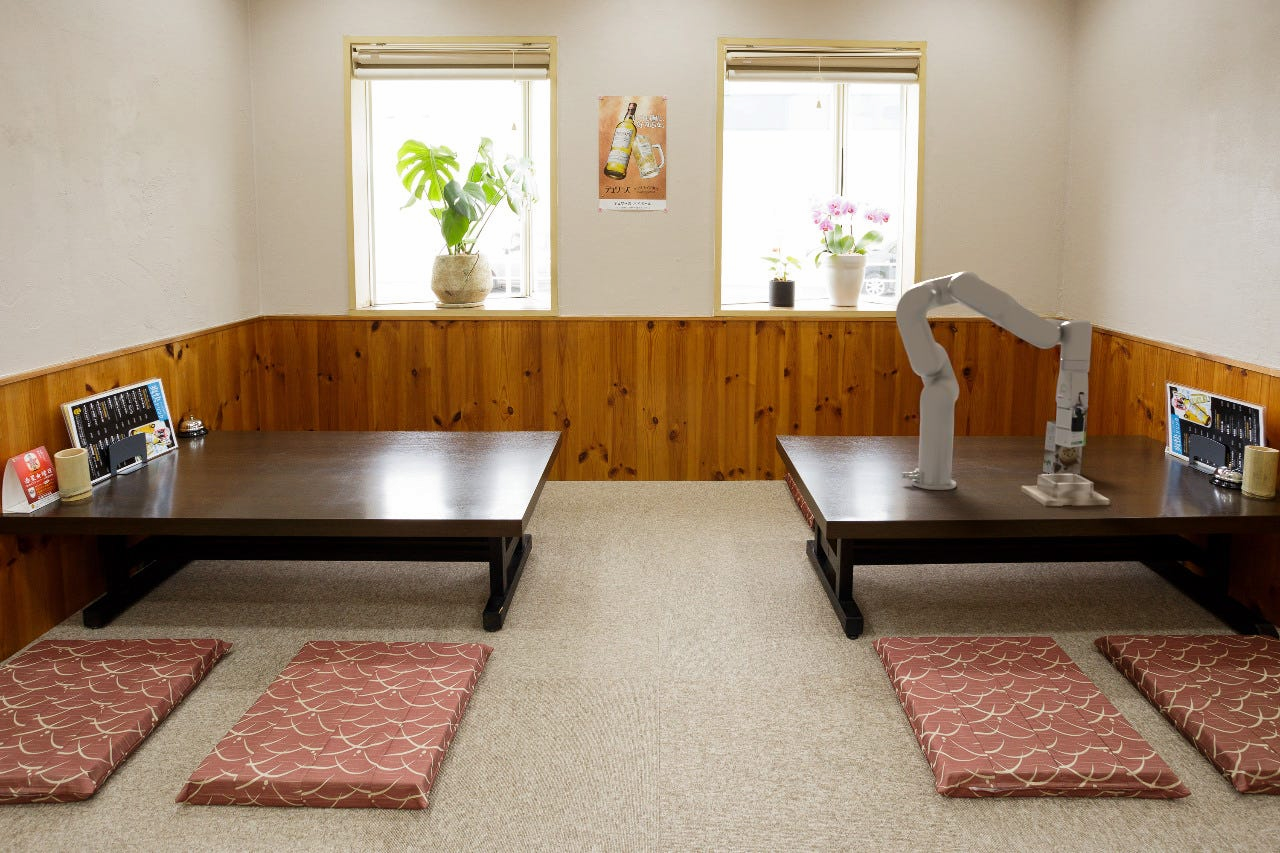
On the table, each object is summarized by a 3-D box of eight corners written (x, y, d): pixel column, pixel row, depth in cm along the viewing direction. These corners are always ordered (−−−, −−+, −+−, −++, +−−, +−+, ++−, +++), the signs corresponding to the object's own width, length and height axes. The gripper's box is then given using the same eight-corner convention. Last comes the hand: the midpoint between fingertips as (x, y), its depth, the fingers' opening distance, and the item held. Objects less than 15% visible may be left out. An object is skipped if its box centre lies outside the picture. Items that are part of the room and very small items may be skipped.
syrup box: (1069, 448, 284) (1073, 396, 282) (1053, 444, 290) (1057, 393, 287) (1085, 446, 286) (1089, 394, 284) (1069, 442, 292) (1073, 391, 289)
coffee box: (1054, 476, 315) (1058, 424, 312) (1042, 471, 321) (1045, 420, 318) (1081, 474, 317) (1085, 423, 314) (1068, 469, 323) (1072, 419, 320)
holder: (1044, 505, 283) (1046, 486, 282) (1021, 490, 299) (1022, 472, 298) (1109, 504, 284) (1110, 485, 283) (1082, 489, 299) (1083, 471, 298)
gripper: (1047, 361, 292) (1044, 423, 296) (1075, 370, 275) (1071, 435, 279) (1073, 361, 292) (1069, 422, 296) (1103, 369, 275) (1098, 434, 279)
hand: (1070, 428), depth 287 cm, fingers closed on syrup box, 7 cm apart
